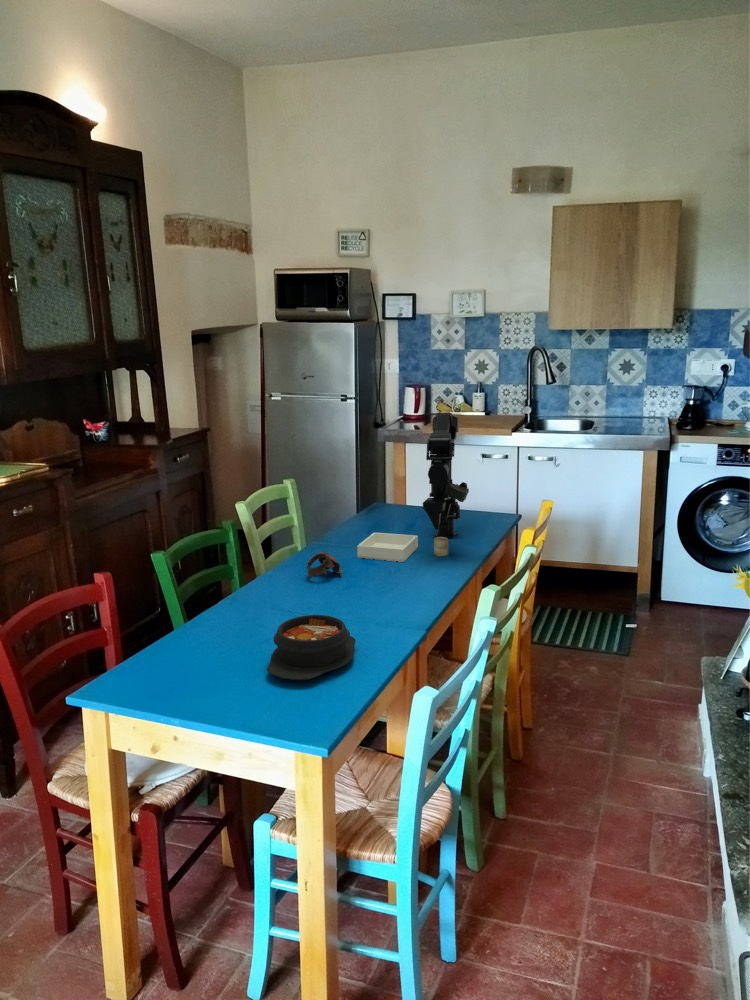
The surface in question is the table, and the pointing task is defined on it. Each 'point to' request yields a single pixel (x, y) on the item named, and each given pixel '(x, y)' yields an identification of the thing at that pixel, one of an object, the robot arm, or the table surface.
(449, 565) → the table surface
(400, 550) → the gray and white box
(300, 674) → the casserole
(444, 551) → the wooden cylinder
